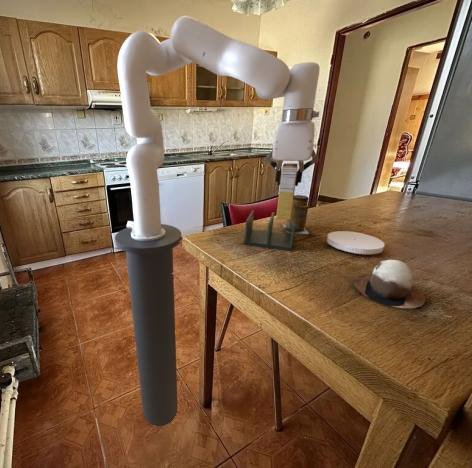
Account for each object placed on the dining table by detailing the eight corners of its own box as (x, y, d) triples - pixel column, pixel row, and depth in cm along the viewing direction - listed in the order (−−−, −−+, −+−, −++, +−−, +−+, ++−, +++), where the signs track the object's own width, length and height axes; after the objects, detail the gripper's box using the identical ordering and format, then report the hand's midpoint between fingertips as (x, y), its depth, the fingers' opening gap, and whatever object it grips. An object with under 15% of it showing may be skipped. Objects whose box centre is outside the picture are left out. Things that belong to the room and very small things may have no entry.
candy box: (276, 210, 84) (283, 162, 79) (291, 212, 82) (299, 163, 77) (274, 218, 77) (281, 166, 71) (290, 220, 75) (298, 167, 69)
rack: (244, 244, 82) (246, 220, 79) (250, 231, 92) (252, 210, 89) (291, 250, 76) (295, 225, 74) (292, 236, 86) (296, 214, 84)
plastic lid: (385, 261, 68) (387, 253, 67) (324, 251, 76) (326, 243, 75) (379, 243, 79) (381, 235, 78) (327, 235, 86) (328, 228, 85)
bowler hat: (353, 266, 64) (398, 245, 57) (385, 301, 62) (435, 284, 55) (344, 285, 56) (396, 264, 49) (380, 327, 54) (439, 310, 47)
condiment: (303, 226, 95) (308, 194, 91) (309, 234, 88) (315, 200, 83) (282, 225, 97) (286, 194, 93) (286, 233, 89) (291, 199, 85)
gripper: (331, 116, 69) (319, 183, 76) (265, 119, 76) (259, 181, 83) (334, 114, 63) (320, 188, 70) (262, 118, 70) (256, 185, 77)
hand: (287, 184), depth 76 cm, fingers closed on candy box, 4 cm apart
